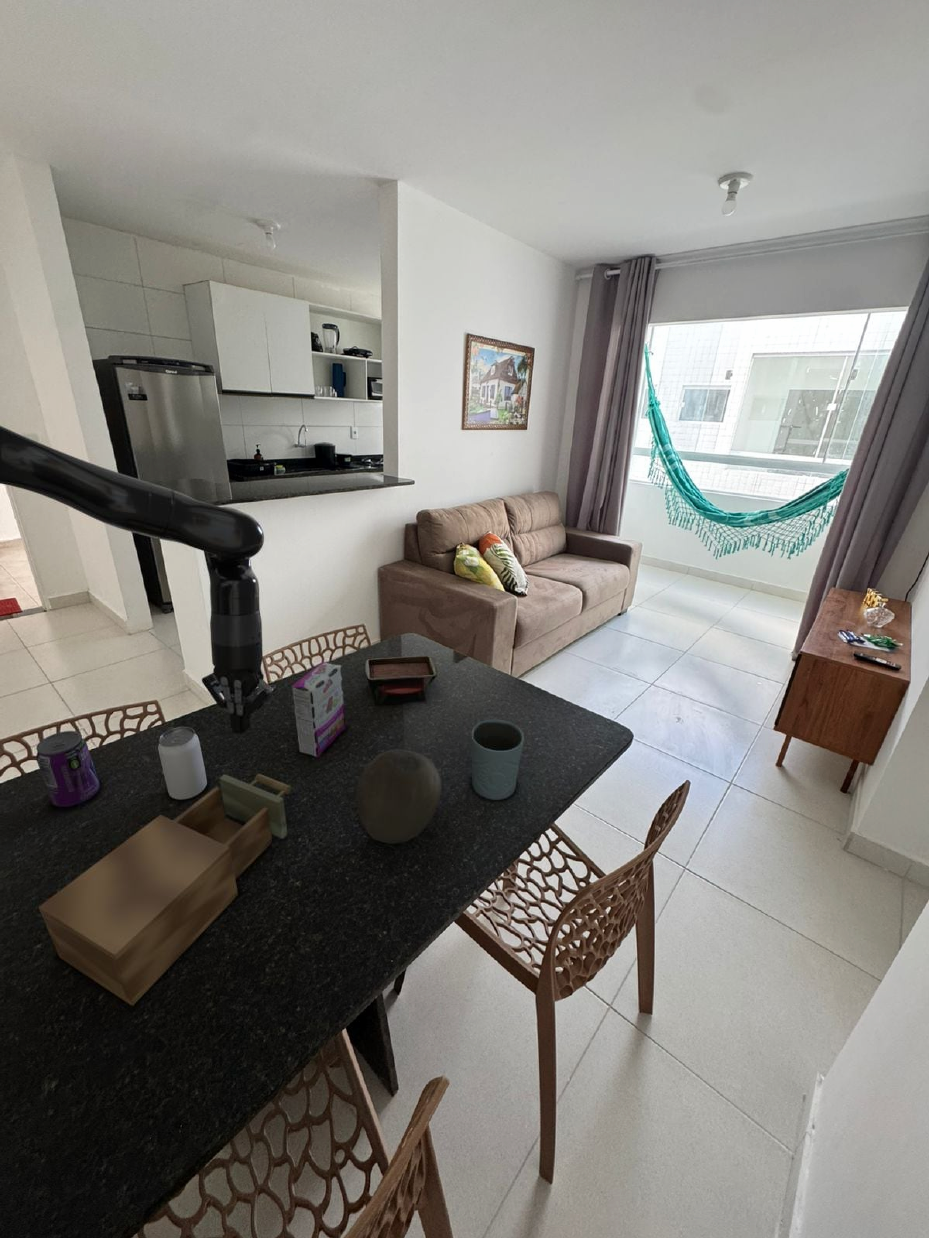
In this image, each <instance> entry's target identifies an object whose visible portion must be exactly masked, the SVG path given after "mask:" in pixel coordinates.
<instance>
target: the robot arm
mask: <svg viewBox="0 0 929 1238" xmlns="http://www.w3.org/2000/svg"><path fill="white" fill-rule="evenodd" d="M0 485H6V486H10V487H15V488H18V489H22V490H25V491H29V492H32V493H35V494H37V495H41V496H43V497H46V498H49V499H52V500H54V501H56V502H58V503H60V504H63V505H65V506H67V507H69V508H72V509H73V510H76V511H78V512H79V513H81V514H84V515H86V516H88V517H90V518H92V519H93V520H96V521H98V522H101V523H103V524H105V525H109V526H111V527H114V528H117V529H120V530H122V531H126V532H131V533H134V534H139V535H142V536H146V537H151V538H154V539H158V540H162V541H168V542H173V543H177V544H182V545H185V546H188V547H190V548H193V549H196V550H199V551H202V552H203V555H204V559H205V564H206V568H207V572H208V578H209V599H210V620H209V630H210V631H209V633H210V648H211V663H212V665H213V669H212V673H210V674H207V675H206V676H203V677H202V678H201V682H202V684H203V685H204V687H205V688H206V690H207V691H208V693H209V694H210V695H211V697H212V699H213V700H214V701H215V703H216V704H217V707H219V708H220V709H226V710H227V712H228V714H229V724H230V725H229V726H230V728H231V730H232V733H234V734H238V735H243V734H245V733H246V732H248V730H249V729H250V727H251V715H252V714H254V712H256V711H257V710H259V709H261V708H262V707H263V706H264V705H265V703H266V702H267V701H268V700H269V699H270V698H271V696H272V695H274V693H275V692H276V691H277V686H275V685H274V684H271V685H270V684H268V683H267V682H266V681H265V680H264V679H265V678H264V677H265V676H264V673H263V670H262V664H263V661H264V660H263V658H264V656H263V653H264V652H263V622H262V621H263V620H262V616H261V609H260V584H259V580H258V577H257V575H256V574H255V573H254V571H253V568H252V563H251V562H252V561H251V558H254V556H256V555H257V554H258V553H260V551H261V550H262V548H263V547H264V542H265V534H264V533H265V532H264V531H263V528H262V525H261V524H260V523H259V521H257V520H256V519H255V518H254V517H253V516H252V515H250V514H247V513H245V512H243V511H240V510H239V509H236V508H233V507H229V506H220V505H219V506H218V505H215V504H212V503H207V502H204V501H201V500H197V499H195V498H194V497H193V498H192V497H190V496H189V495H186V494H184V493H182V492H180V491H177V490H175V489H171V488H168V487H165V486H162V485H159V484H156V483H152V482H149V481H147V480H142V479H139V478H137V477H133V476H131V475H127V474H123V473H121V472H117V471H115V470H112V469H108V468H105V467H102V466H101V465H97V464H94V463H92V462H89V461H86V460H83V459H80V458H78V457H75V456H72V455H70V454H68V453H66V452H63V451H60V450H57V449H55V448H53V447H50V446H48V445H46V444H43V443H41V442H38V441H36V440H33V439H31V438H29V437H26V436H24V435H22V434H19V433H17V432H16V431H13V430H11V429H9V428H6V427H5V426H3V425H0ZM255 691H256V693H255ZM255 695H256V697H255ZM254 697H255V698H254Z"/></svg>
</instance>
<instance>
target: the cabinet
mask: <svg viewBox="0 0 929 1238" xmlns="http://www.w3.org/2000/svg"><path fill="white" fill-rule="evenodd" d="M238 895H239V891H238V887H237V881H236V880H235V875H234V870H233V864H232V859H231V853H230V847H228V846H226V845H223V844H221V843H219V842H217V841H215V840H213V839H211V838H209V837H206V836H204V835H202V834H200V833H198V832H196V831H194V830H192V829H189V828H187V827H185V826H183V825H181V824H179V823H177V822H175V821H173V820H172V819H170V818H168V817H166V816H164V815H162V814H159V815H158V816H157V817H155V818H154V819H153V820H152V821H150V822H148V823H147V824H146V825H145V826H144V827H142V828H141V829H139V830H138V831H137V832H136V833H134V834H133V835H132V836H131V837H129V838H128V839H126V840H125V841H123V842H122V843H121V844H120V845H118V846H117V847H116V848H114V849H113V850H112V851H111V852H109V853H108V854H106V855H105V856H104V857H102V858H101V859H100V860H98V861H97V862H96V863H95V864H92V866H91V867H89V868H88V869H87V870H85V871H84V872H83V873H81V874H80V875H79V876H77V877H76V878H75V879H73V880H72V881H71V882H70V883H68V884H67V885H65V886H64V887H63V888H62V889H61V890H59V891H57V892H56V893H55V894H54V895H52V896H51V897H50V898H48V899H47V900H46V901H44V902H43V903H41V905H39V906H38V909H39V911H40V915H41V916H42V919H43V921H44V923H45V926H46V929H47V931H48V933H49V936H50V938H51V940H52V943H53V946H54V948H55V950H56V952H57V954H58V957H59V958H60V959H61V960H63V962H66V963H67V964H69V965H70V966H72V967H73V968H75V969H76V970H77V971H79V972H81V973H82V974H83V975H85V976H87V977H88V978H89V979H91V980H92V981H94V982H95V983H97V984H98V985H100V986H101V987H103V988H105V989H106V990H107V991H109V992H111V993H112V994H114V995H115V996H117V997H118V998H120V999H121V1000H122V1001H124V1002H126V1003H127V1004H129V1005H130V1006H131V1007H133V1006H134V1005H135V1004H136V1003H138V1001H139V1000H140V999H141V998H142V997H143V996H144V995H145V993H147V992H148V991H149V989H150V988H151V987H152V986H154V984H155V983H156V982H157V981H158V980H159V979H160V978H161V977H162V976H163V975H164V974H165V973H166V971H168V969H169V968H170V967H171V966H172V965H173V964H174V963H175V962H176V961H177V960H178V959H179V958H180V957H181V956H182V955H183V954H184V952H185V951H186V950H187V949H188V948H190V946H191V945H192V944H193V943H194V942H195V941H196V940H197V939H198V938H199V936H200V935H201V934H203V933H204V931H205V930H206V929H207V928H209V926H210V925H211V924H212V923H213V922H214V921H215V920H216V919H217V917H219V916H220V915H221V914H222V913H223V911H224V910H225V909H226V908H227V907H228V906H229V905H230V904H231V903H232V902H233V901H234V900H235V899H236V897H237V896H238Z"/></svg>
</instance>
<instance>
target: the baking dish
mask: <svg viewBox="0 0 929 1238" xmlns="http://www.w3.org/2000/svg"><path fill="white" fill-rule="evenodd" d="M363 666H364V676H365V678H366V681H367V683H368V686H369V688H370V690H371V693H372V695H373V698H374V701H375V703H376V705H377V706H391V705H400V704H409V703H417V702H424V701H426V700H427V698H426V694H427V691H428V688H429V686H430V685H431V683H432V682H433V681H434V680H435V679H436V678H437V677H438V670H437V664H436V663H435V661H434V659H433V658H432V657H431V656H430V655H428V654H427V655H412V656H411V655H410V656H394V657H380V658H379V657H376V658H369V659H366V661H365V662H364V665H363Z"/></svg>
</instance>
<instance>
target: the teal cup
mask: <svg viewBox="0 0 929 1238" xmlns="http://www.w3.org/2000/svg"><path fill="white" fill-rule="evenodd" d="M470 740H471V744H470V746H471V748H470V749H471V777H472V779H471V780H472V781H471V784H472V788H473V790H474V792H475V793H476V794H478V795H479V796H481V797H482V798H485V799H489V800H493V801H500V800H505V799H507V798H509V797H510V796H512V795H513V793H514V792H515V790H516V786H517V777H518V772H519V766H520V761H521V756H522V753H523V747H524V741H525V736H524V733H523V730H522V729H521V728H520V727H519V726H518V725H516V724H514V723H512V722H510V721H508V720H503V719H486V720H482V721H480V722H478V723H477V724H475V725H474V726H473V728H471V732H470Z"/></svg>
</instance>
